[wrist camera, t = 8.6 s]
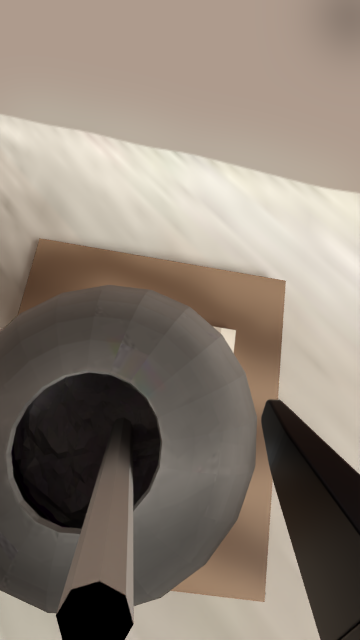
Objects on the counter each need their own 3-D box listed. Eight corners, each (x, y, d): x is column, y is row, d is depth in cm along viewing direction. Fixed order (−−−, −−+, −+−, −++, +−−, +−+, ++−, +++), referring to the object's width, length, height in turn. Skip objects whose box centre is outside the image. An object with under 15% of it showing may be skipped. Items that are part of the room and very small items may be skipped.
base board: (257, 588, 19) (269, 611, 17) (-40, 552, 18) (-64, 572, 16) (279, 286, 23) (290, 276, 21) (45, 246, 22) (35, 232, 21)
